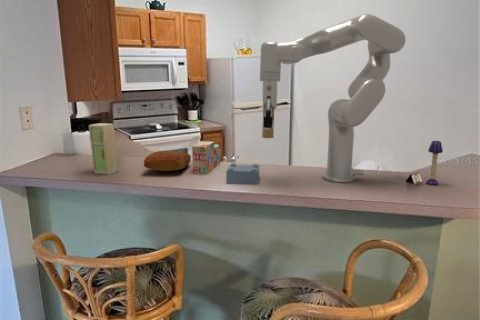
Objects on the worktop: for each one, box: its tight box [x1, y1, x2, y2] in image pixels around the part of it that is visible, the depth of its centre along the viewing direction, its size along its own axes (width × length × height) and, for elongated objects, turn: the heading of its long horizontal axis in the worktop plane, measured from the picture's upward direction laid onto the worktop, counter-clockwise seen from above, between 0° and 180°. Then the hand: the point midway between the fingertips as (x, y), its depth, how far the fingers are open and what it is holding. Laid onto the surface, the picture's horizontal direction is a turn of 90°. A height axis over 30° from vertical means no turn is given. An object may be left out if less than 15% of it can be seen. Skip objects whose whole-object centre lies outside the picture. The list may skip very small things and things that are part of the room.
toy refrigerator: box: [88, 122, 119, 175], centre depth 150 cm, size 8×7×21 cm
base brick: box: [225, 162, 260, 185], centre depth 139 cm, size 12×10×6 cm
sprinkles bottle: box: [261, 106, 275, 139], centre depth 132 cm, size 5×5×14 cm
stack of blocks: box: [191, 140, 221, 175], centre depth 158 cm, size 21×6×12 cm, turn 167°
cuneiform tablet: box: [143, 150, 192, 172], centre depth 155 cm, size 22×17×8 cm
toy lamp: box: [425, 140, 444, 187], centre depth 132 cm, size 5×5×17 cm
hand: (268, 126), depth 133 cm, fingers closed on sprinkles bottle, 4 cm apart
